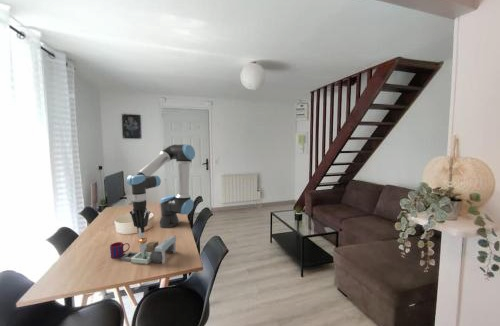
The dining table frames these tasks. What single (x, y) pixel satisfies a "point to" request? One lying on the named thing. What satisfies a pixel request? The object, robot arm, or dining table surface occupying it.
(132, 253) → the pin socket
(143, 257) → the stop pin
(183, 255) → the dining table surface
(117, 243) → the mug
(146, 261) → the tray
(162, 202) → the robot arm
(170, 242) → the grey angle bracket
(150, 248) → the chock
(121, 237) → the dining table surface
